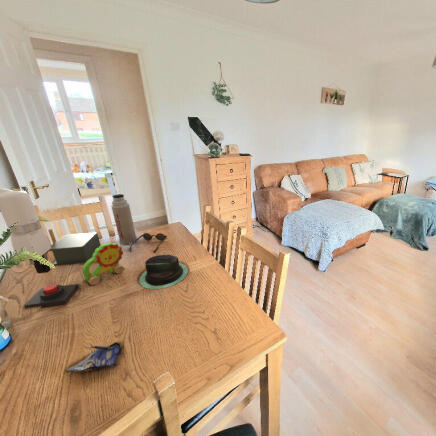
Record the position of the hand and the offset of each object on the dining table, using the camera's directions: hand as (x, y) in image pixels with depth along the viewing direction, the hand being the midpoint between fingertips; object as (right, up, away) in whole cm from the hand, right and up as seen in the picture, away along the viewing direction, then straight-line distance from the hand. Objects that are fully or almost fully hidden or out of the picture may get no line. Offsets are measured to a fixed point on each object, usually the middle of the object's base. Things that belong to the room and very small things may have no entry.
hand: (44, 271), depth 89 cm
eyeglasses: (+12, +4, +46) cm, 47 cm away
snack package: (+35, -23, -18) cm, 46 cm away
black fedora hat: (+33, -7, +22) cm, 40 cm away
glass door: (-25, +3, +34) cm, 42 cm away
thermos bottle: (-2, +6, +49) cm, 50 cm away
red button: (-1, -8, +3) cm, 9 cm away
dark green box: (-16, +1, +33) cm, 37 cm away
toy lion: (+9, -6, +19) cm, 22 cm away
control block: (-1, -12, +5) cm, 13 cm away
